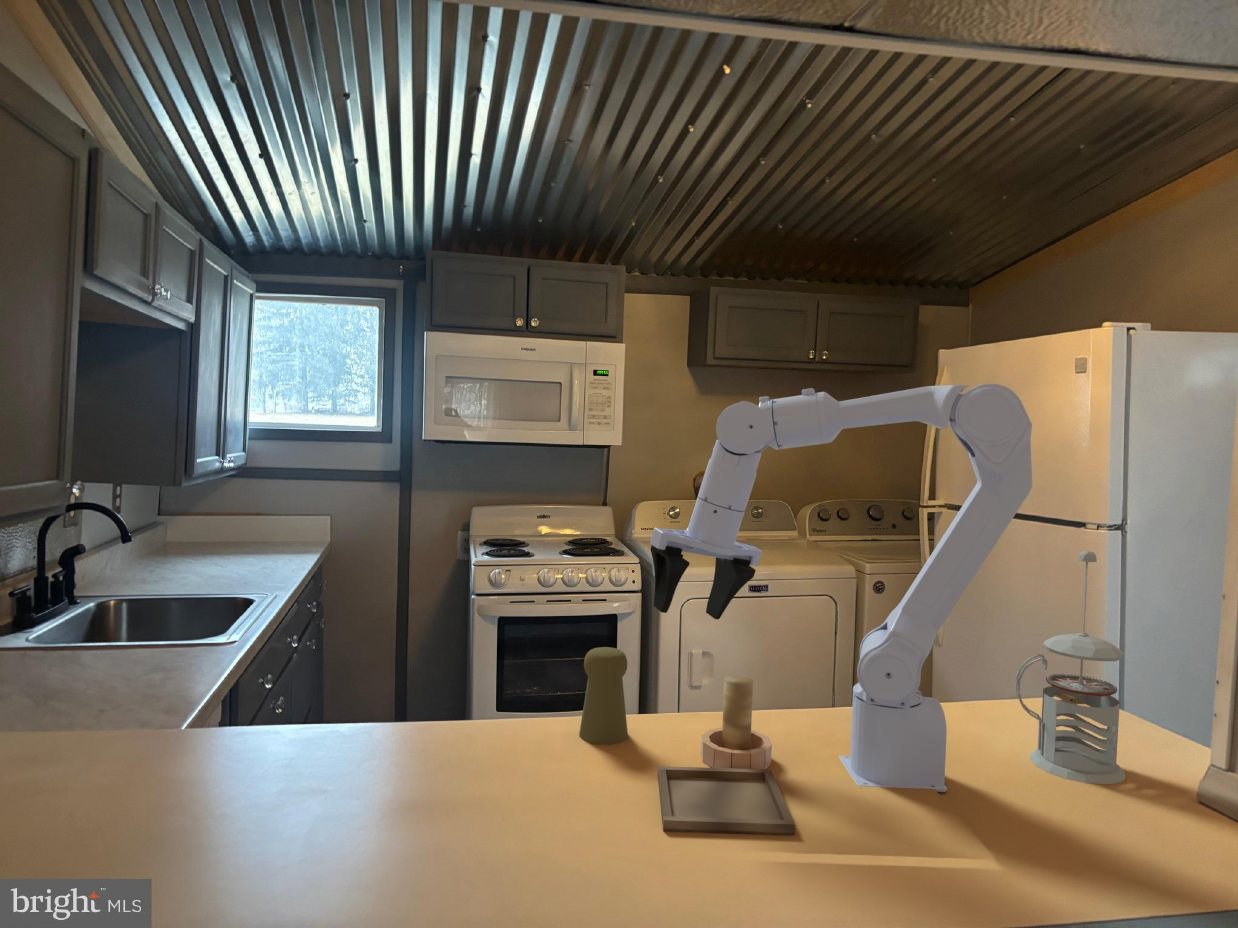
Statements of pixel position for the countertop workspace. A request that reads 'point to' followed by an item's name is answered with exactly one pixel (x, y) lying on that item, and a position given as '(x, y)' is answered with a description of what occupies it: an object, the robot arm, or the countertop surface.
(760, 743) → the pink round piece
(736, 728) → the dowel pin
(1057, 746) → the french press
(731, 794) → the walnut tray
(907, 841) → the countertop surface
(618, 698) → the olive green pawn
